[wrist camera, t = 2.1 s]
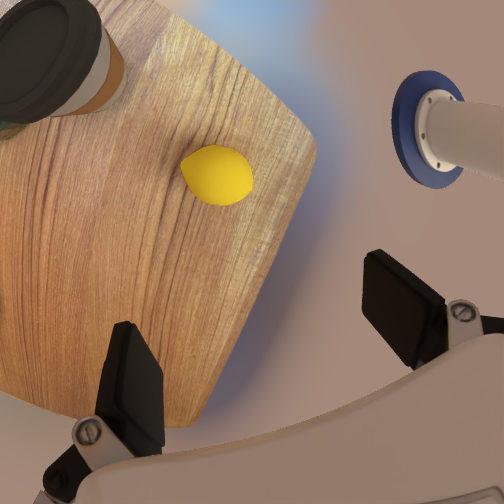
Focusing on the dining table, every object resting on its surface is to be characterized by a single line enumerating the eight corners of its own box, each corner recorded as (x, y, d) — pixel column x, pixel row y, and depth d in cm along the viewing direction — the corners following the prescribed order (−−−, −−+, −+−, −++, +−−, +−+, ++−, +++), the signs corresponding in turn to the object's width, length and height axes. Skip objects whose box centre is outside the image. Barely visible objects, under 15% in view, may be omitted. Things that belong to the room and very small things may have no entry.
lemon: (257, 158, 27) (273, 165, 22) (236, 206, 29) (247, 223, 24) (191, 133, 25) (192, 134, 20) (172, 184, 26) (168, 197, 21)
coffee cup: (55, 67, 18) (-34, 40, 4) (128, 32, 18) (83, -42, 5) (73, 136, 22) (-20, 155, 8) (148, 102, 22) (103, 73, 9)
